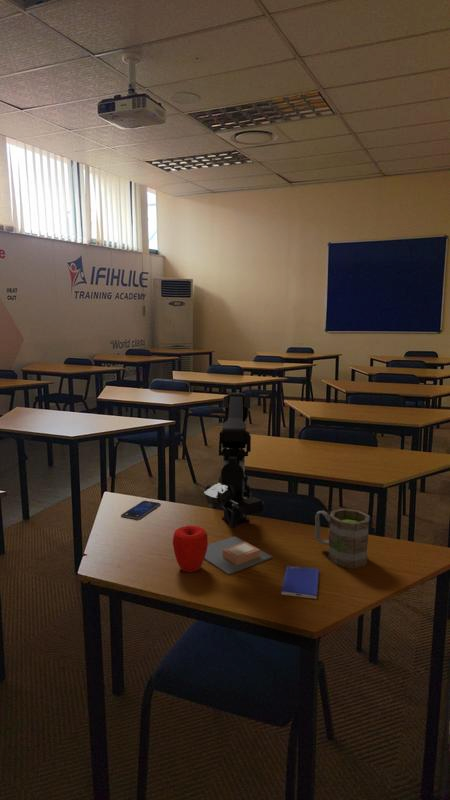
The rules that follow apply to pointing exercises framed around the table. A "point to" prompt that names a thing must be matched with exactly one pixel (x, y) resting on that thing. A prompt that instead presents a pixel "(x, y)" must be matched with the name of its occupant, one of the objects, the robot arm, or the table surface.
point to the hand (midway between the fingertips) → (233, 528)
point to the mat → (217, 559)
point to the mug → (345, 537)
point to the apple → (190, 547)
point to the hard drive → (300, 582)
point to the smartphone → (140, 510)
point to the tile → (241, 553)
